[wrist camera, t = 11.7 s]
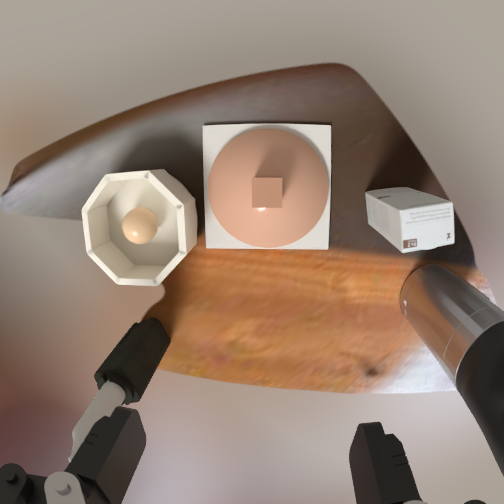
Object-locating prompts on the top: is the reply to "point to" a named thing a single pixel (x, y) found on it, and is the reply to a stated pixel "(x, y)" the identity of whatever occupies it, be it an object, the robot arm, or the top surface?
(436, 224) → the skincare box
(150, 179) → the bowl
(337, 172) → the top surface
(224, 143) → the mat
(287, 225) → the lid
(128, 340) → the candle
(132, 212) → the ball
